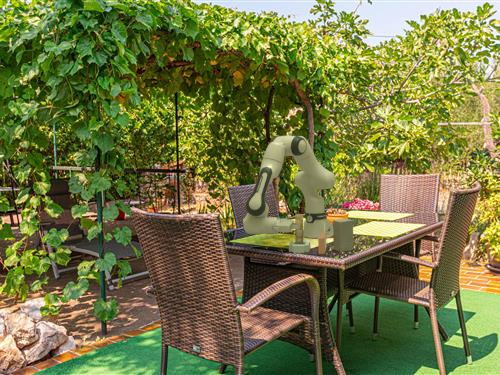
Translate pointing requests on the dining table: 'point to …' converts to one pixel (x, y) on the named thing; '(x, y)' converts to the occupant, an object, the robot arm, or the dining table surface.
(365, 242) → the dining table surface
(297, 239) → the dowel
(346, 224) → the skincare box
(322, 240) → the wall
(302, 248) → the block
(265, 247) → the dining table surface
